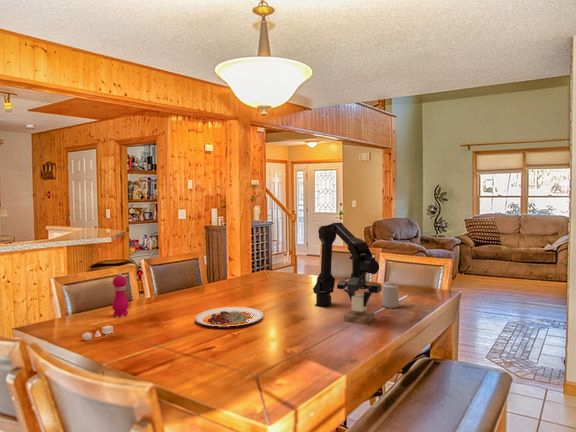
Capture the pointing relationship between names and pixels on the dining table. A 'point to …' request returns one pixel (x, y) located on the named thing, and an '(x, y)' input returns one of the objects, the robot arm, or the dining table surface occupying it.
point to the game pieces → (105, 330)
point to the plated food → (229, 316)
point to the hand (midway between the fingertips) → (359, 306)
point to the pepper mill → (120, 296)
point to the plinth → (359, 317)
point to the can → (390, 295)
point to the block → (358, 303)
